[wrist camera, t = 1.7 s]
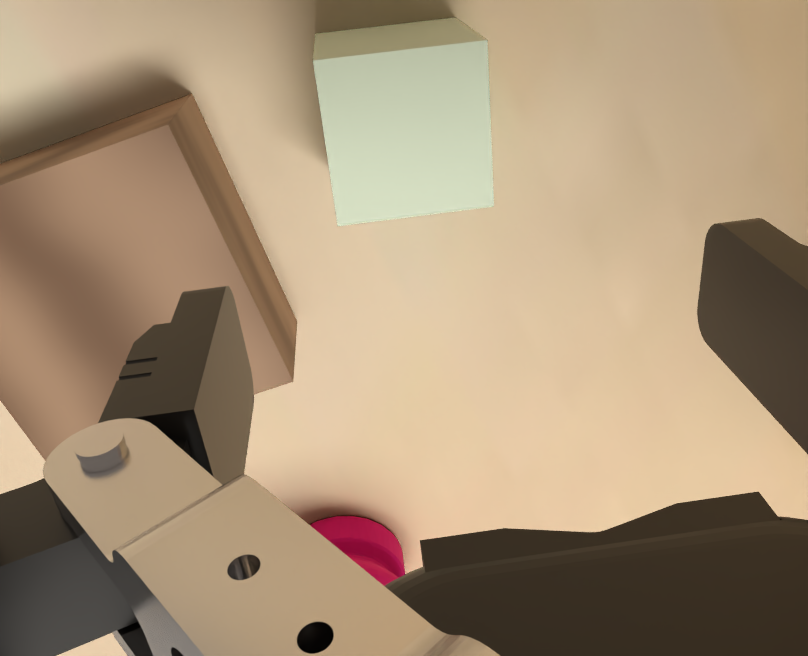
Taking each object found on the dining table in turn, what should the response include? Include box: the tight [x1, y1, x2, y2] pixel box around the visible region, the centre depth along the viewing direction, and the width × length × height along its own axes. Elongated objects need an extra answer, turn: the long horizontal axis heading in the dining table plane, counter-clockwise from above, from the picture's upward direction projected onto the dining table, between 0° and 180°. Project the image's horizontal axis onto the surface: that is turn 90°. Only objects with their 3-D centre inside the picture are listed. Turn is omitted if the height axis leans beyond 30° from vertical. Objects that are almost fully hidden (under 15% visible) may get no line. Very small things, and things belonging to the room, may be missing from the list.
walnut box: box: [0, 94, 297, 461], centre depth 27 cm, size 10×10×5 cm
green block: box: [313, 17, 494, 226], centre depth 25 cm, size 5×5×6 cm
